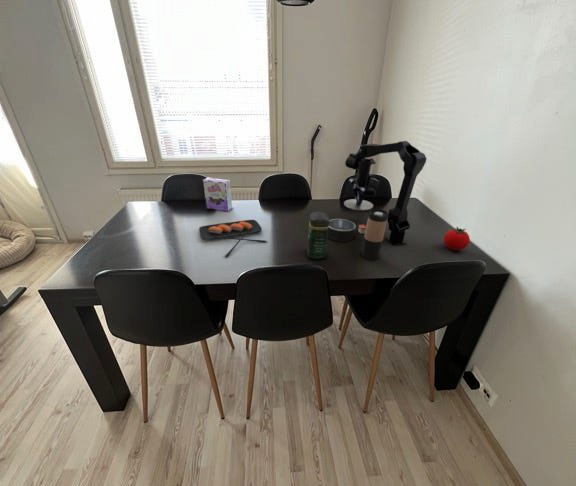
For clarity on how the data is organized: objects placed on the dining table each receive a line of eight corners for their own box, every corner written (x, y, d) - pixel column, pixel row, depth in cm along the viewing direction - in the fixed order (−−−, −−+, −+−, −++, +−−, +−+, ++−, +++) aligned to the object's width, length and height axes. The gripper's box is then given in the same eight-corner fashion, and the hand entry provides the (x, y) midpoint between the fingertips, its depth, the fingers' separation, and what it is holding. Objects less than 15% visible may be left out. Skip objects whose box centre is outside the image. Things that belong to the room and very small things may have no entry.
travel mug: (365, 249, 132) (374, 207, 121) (381, 255, 128) (392, 212, 117) (357, 255, 127) (365, 212, 116) (373, 262, 123) (383, 217, 112)
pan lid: (377, 210, 147) (380, 200, 143) (350, 212, 144) (351, 201, 141) (365, 200, 158) (367, 190, 155) (339, 201, 156) (340, 191, 153)
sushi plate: (255, 222, 153) (255, 215, 151) (273, 249, 130) (273, 241, 128) (198, 229, 144) (197, 222, 142) (207, 260, 121) (206, 252, 119)
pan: (358, 240, 139) (360, 229, 136) (331, 242, 137) (332, 232, 134) (347, 227, 150) (349, 217, 147) (322, 229, 148) (323, 219, 145)
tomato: (468, 249, 135) (477, 229, 129) (460, 257, 129) (468, 236, 123) (445, 241, 141) (453, 221, 135) (436, 248, 135) (443, 228, 129)
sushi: (370, 229, 149) (371, 224, 147) (373, 232, 146) (374, 227, 144) (357, 230, 148) (358, 224, 146) (360, 233, 145) (361, 228, 143)
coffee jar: (326, 260, 124) (331, 219, 113) (308, 260, 123) (311, 219, 113) (323, 248, 132) (327, 209, 121) (306, 248, 131) (308, 209, 121)
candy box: (206, 208, 167) (201, 179, 157) (211, 205, 171) (207, 176, 162) (228, 212, 163) (225, 182, 154) (232, 208, 168) (230, 179, 159)
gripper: (388, 177, 135) (381, 208, 144) (370, 166, 150) (365, 196, 159) (366, 178, 133) (360, 210, 142) (350, 167, 148) (346, 197, 157)
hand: (358, 203), depth 150 cm, fingers closed on pan lid, 2 cm apart
